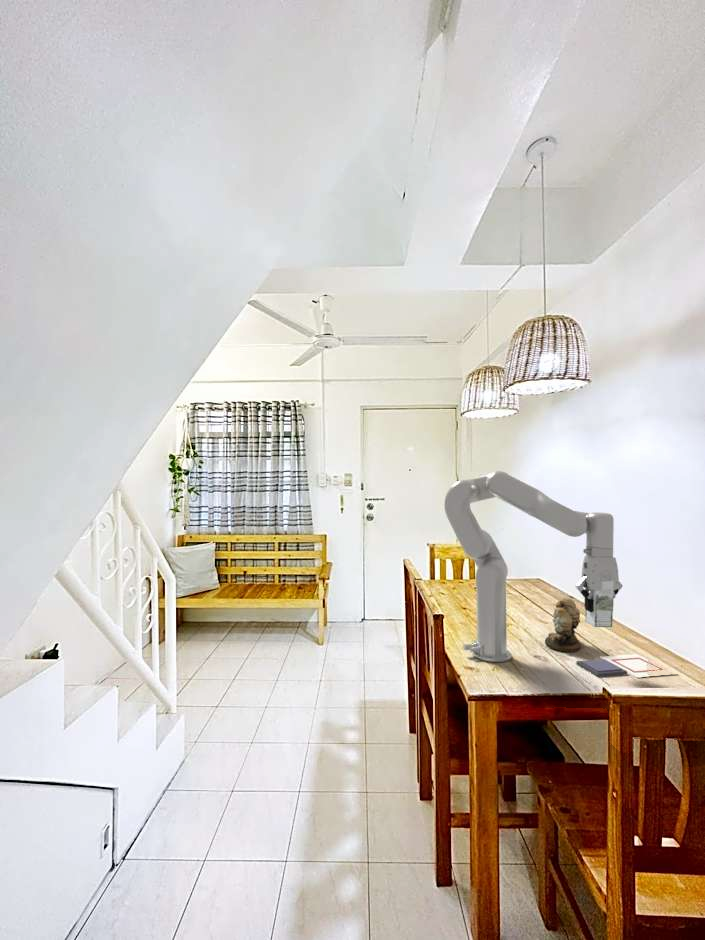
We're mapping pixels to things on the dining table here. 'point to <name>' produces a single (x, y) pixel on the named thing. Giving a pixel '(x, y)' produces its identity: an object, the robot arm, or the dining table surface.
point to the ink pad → (601, 667)
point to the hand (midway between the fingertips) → (598, 609)
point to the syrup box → (601, 606)
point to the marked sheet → (631, 664)
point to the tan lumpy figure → (564, 627)
